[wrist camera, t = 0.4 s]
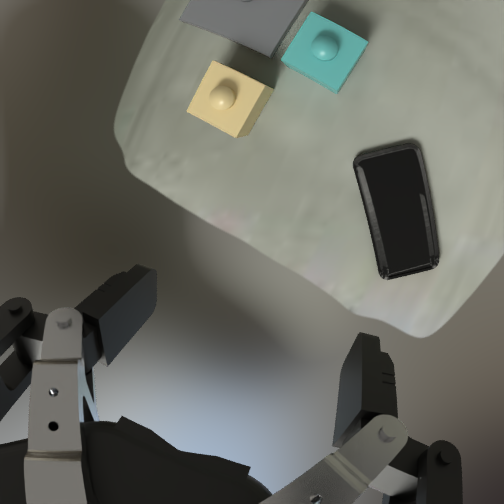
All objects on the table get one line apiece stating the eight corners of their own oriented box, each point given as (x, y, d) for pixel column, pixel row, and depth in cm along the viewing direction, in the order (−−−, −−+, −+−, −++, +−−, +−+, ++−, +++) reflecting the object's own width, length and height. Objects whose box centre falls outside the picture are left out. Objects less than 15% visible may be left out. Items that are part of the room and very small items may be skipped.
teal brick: (314, 23, 27) (310, 8, 22) (364, 51, 27) (369, 39, 22) (287, 66, 29) (279, 57, 25) (337, 94, 30) (337, 90, 25)
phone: (380, 281, 36) (350, 158, 31) (379, 277, 37) (350, 157, 32) (440, 267, 33) (419, 141, 28) (438, 263, 34) (416, 140, 29)
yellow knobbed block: (227, 66, 31) (209, 58, 26) (274, 89, 31) (263, 84, 26) (203, 111, 34) (182, 111, 29) (248, 135, 34) (232, 138, 29)
